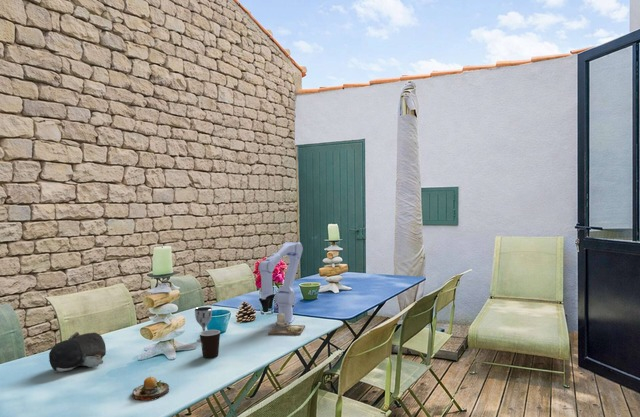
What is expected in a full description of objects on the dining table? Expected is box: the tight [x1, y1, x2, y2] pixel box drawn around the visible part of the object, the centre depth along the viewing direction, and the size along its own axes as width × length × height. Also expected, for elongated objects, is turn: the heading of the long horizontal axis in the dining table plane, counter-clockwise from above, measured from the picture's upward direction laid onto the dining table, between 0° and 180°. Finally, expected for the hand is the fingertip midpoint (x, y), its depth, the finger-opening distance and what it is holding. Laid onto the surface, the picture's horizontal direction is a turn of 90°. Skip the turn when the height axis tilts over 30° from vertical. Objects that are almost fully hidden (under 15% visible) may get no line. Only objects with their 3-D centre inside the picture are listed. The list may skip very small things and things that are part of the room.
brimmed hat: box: [131, 376, 170, 402], centre depth 151 cm, size 12×12×8 cm
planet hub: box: [276, 313, 285, 326], centre depth 223 cm, size 4×4×7 cm
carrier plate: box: [267, 322, 306, 336], centre depth 222 cm, size 14×16×3 cm
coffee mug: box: [199, 329, 221, 360], centre depth 189 cm, size 12×9×10 cm
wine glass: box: [194, 306, 213, 343], centre depth 210 cm, size 8×8×15 cm
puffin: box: [48, 331, 107, 372], centre depth 178 cm, size 20×21×13 cm
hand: (267, 310), depth 227 cm, fingers open, 7 cm apart
